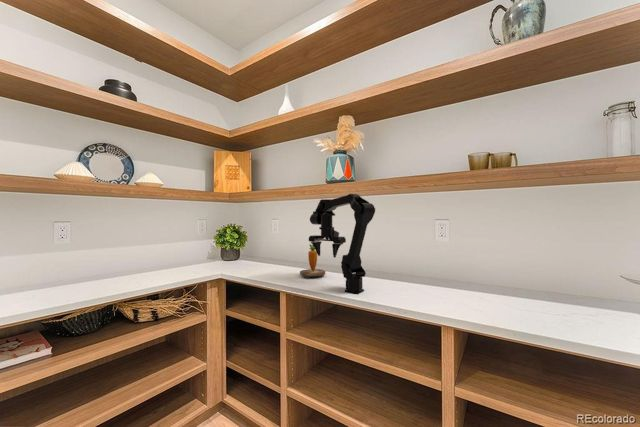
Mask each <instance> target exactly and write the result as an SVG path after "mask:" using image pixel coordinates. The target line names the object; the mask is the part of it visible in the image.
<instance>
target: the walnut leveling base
mask: <svg viewBox="0 0 640 427" xmlns="http://www.w3.org/2000/svg"><path fill="white" fill-rule="evenodd" d="M299 275H300V276H304V279H311V277H318V278H323V277H324V275H326V270H324V269H317V268H315V270H314V271H312V270H311V268H307V269H302V270H299Z"/></svg>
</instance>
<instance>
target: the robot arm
mask: <svg viewBox="0 0 640 427" xmlns="http://www.w3.org/2000/svg"><path fill="white" fill-rule="evenodd" d="M348 205H350V208H351V210H353V213H354V214H353V217H354V221H355V225H354V228H353V232H352V236H351V242H350V246H349V250H348V253H347V254H343V255H342V259H341V262H340V266H341V270H342V271H341V272H342V275H343V279H345V290H344V292H345V293H350V294H356V295H357V294H358V295H359V294H361V293H363V292H364V291H365V289H364V288H363V278H364V277H366V274H367V273H366V271H365V269H364V268H363V266H362V259H361V252H362V248H363V243H364V240H365V235H366V232H367V229H368V226H369V225H368V224H370V222H371V221H372V220H373V218H374V216H375V213H376V207H375V205H374V204H373V203H370V202H369V201H368V200H366V199H364V198H363V197H362V196H360V195H359V194H356V193H349V194H347V195H342V196H340V197H336V198H332V199H330V198H329V199H325V198H324V199H323V198H322V199H320V200H319V202H318V204H317V206H316V208H315V210H314V211H312V214H311V215H310V217H309V222H310V224H311V225H317V226H319V225H320V227H319V230H320V234H319V235H316V234H315V235H309V237H308V242H310V244H311V245H313V246H314V248H315V251H316V252H317V257H320V256H321V244H322V242H332V244H331V245H332V246H331V247H332V255H333V258H336V257H337V255H338V251H339V248H340V246H342V245H344V243H346V241H347V238H346V237H345V236H339V235H340V232H339V231H338V230H335V227H334V226H333V217H335V216H336V213H334V210H336V209H337V208H339V207H344V206H348Z"/></svg>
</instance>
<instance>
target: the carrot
mask: <svg viewBox="0 0 640 427" xmlns="http://www.w3.org/2000/svg"><path fill="white" fill-rule="evenodd" d="M307 254H308V263H309V266H310V267H309V268H310V269H311V270H312V271H314V270H315V269H316V268H317V264H318V263H317V262H318V254H317V252H316V250H315V248H314V246H313V244H312V243H309V251H308V253H307Z"/></svg>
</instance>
